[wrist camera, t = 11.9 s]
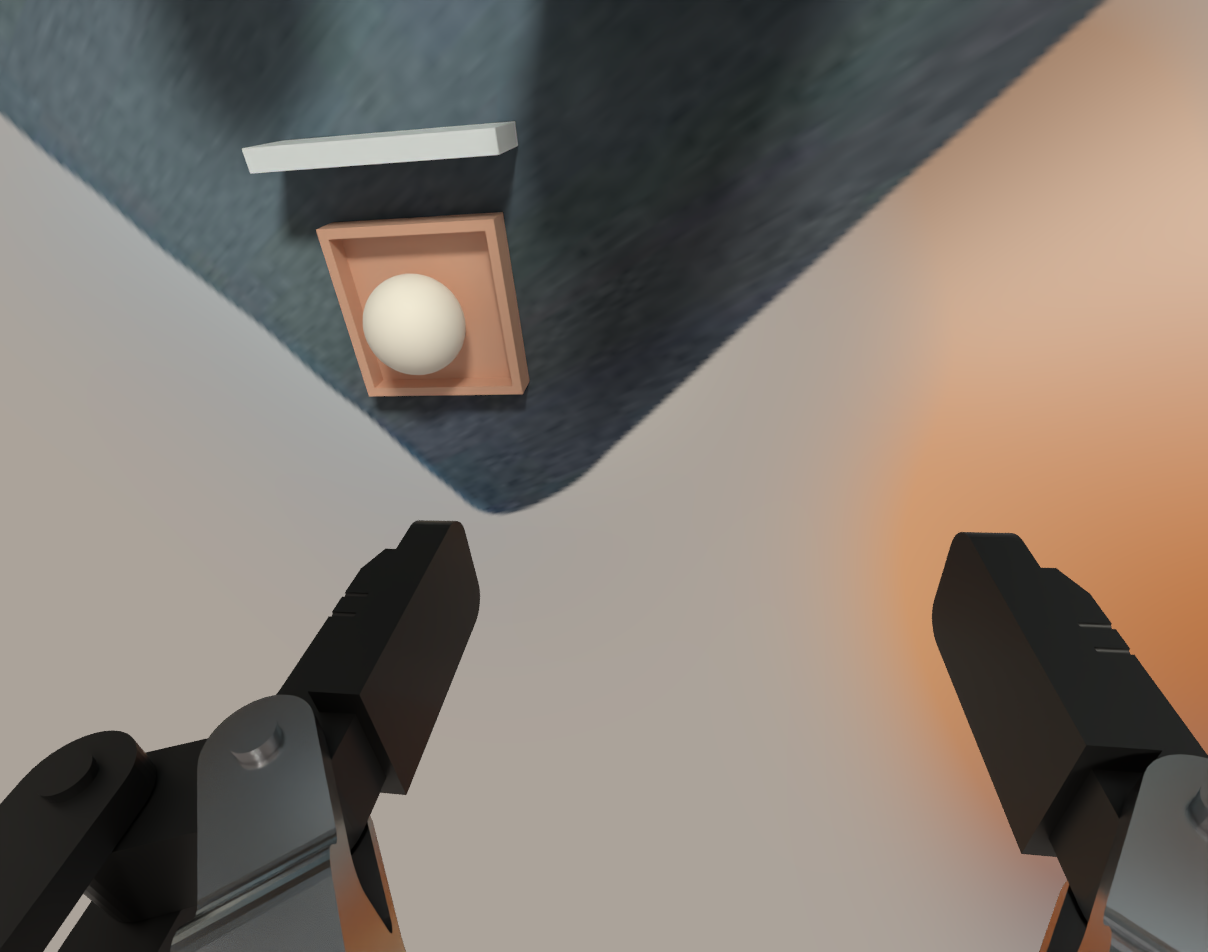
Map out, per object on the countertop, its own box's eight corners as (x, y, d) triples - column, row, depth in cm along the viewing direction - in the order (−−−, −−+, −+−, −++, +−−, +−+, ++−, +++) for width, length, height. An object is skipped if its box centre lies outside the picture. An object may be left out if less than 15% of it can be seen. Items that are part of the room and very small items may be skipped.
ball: (377, 263, 39) (329, 293, 34) (468, 259, 38) (431, 289, 33) (402, 353, 42) (361, 392, 37) (486, 351, 41) (455, 391, 36)
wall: (283, 140, 36) (241, 148, 33) (514, 121, 34) (494, 127, 31) (290, 163, 37) (250, 173, 33) (518, 145, 34) (498, 154, 31)
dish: (332, 222, 38) (315, 229, 37) (502, 212, 37) (493, 219, 35) (381, 383, 44) (369, 396, 43) (529, 381, 43) (522, 394, 41)
